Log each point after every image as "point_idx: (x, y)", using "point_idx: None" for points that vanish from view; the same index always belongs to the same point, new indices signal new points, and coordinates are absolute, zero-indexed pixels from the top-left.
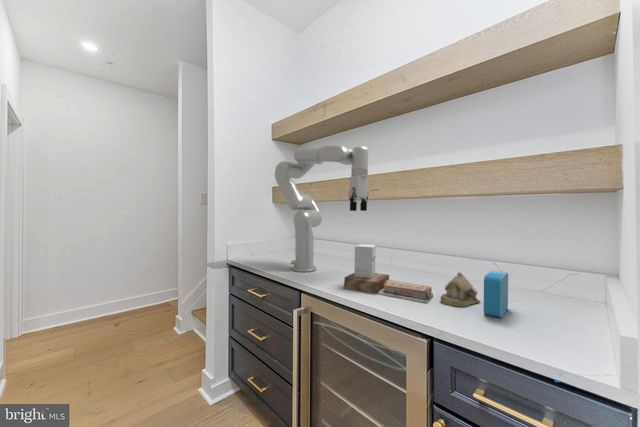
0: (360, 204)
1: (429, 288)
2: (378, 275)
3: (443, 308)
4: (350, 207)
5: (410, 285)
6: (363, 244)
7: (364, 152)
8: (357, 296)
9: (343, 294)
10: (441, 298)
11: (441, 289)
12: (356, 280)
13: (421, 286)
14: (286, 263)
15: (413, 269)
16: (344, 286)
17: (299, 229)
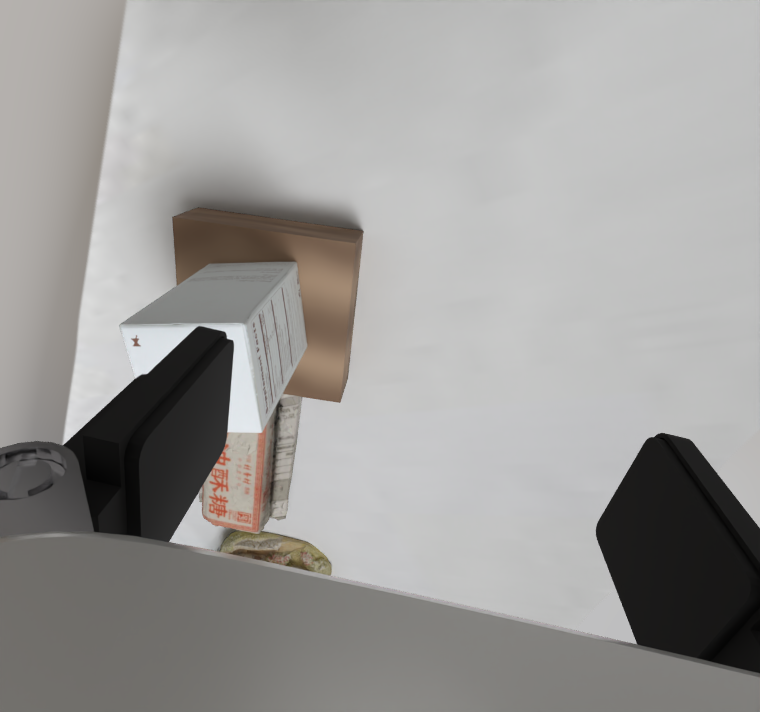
0: (724, 537)
1: (238, 529)
2: (302, 361)
3: (188, 530)
4: (173, 365)
5: (229, 482)
6: (244, 356)
7: None
8: (131, 295)
9: (118, 235)
10: (228, 539)
11: (379, 537)
12: (179, 283)
13: (235, 512)
14: None
15: (727, 448)
16: (194, 209)
17: None
